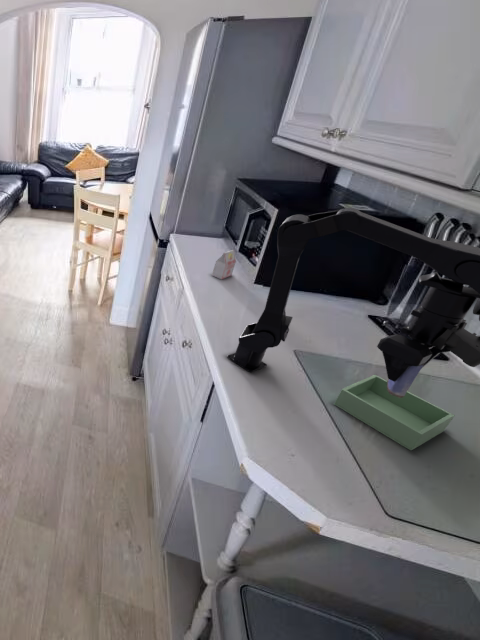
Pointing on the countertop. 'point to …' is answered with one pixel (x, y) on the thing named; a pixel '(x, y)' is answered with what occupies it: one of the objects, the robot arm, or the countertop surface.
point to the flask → (403, 382)
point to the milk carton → (224, 265)
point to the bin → (393, 412)
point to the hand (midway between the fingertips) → (403, 374)
